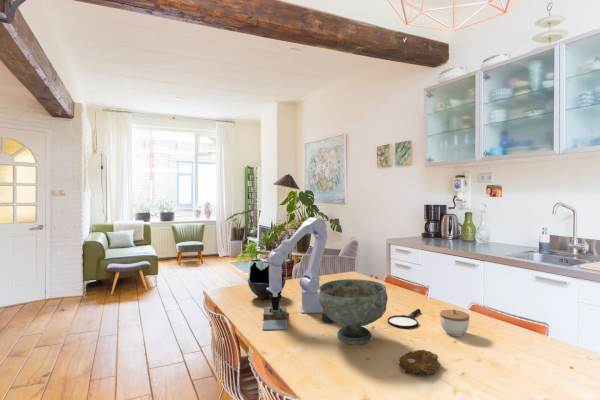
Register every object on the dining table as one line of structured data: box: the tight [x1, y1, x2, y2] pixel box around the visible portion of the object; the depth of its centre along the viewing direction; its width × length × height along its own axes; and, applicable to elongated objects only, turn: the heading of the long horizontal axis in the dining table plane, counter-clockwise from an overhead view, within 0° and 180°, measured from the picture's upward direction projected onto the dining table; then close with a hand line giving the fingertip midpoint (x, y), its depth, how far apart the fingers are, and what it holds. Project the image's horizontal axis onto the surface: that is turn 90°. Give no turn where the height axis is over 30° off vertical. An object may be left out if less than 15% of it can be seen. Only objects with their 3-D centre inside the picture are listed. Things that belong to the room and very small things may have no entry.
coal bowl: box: [247, 261, 287, 299], centre depth 189 cm, size 20×20×19 cm
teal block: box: [270, 300, 281, 312], centre depth 161 cm, size 4×4×9 cm
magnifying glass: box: [387, 308, 422, 330], centre depth 156 cm, size 12×24×2 cm, turn 140°
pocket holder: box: [262, 306, 288, 321], centre depth 161 cm, size 10×10×2 cm
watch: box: [321, 312, 335, 324], centre depth 154 cm, size 6×8×11 cm
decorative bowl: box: [318, 278, 389, 345], centre depth 136 cm, size 26×26×20 cm
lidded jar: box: [439, 309, 470, 337], centre depth 140 cm, size 11×11×9 cm
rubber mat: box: [262, 319, 288, 331], centre depth 149 cm, size 10×10×1 cm
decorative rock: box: [398, 349, 441, 377], centre depth 113 cm, size 11×4×15 cm
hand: (275, 308), depth 161 cm, fingers closed on teal block, 4 cm apart
